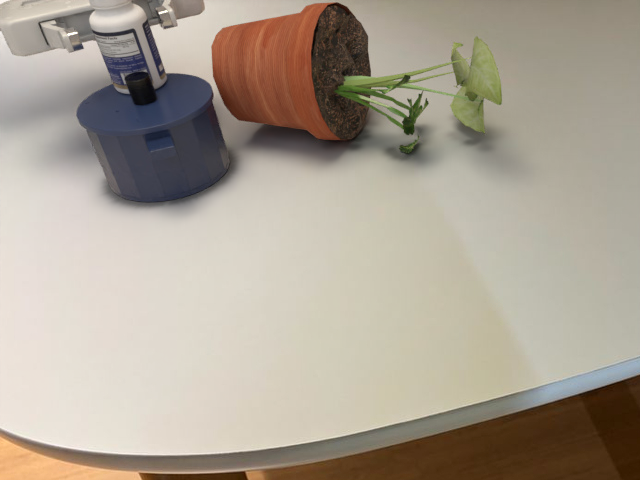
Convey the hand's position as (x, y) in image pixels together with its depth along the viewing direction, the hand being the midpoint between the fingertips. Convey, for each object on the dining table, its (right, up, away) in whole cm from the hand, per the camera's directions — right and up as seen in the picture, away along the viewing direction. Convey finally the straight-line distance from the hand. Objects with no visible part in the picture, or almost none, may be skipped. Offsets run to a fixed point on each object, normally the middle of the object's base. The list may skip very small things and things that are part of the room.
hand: (122, 31), depth 80 cm
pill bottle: (0, -4, +5) cm, 6 cm away
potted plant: (+25, -7, +11) cm, 28 cm away
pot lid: (+1, -7, +2) cm, 7 cm away
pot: (+2, -12, +7) cm, 14 cm away
